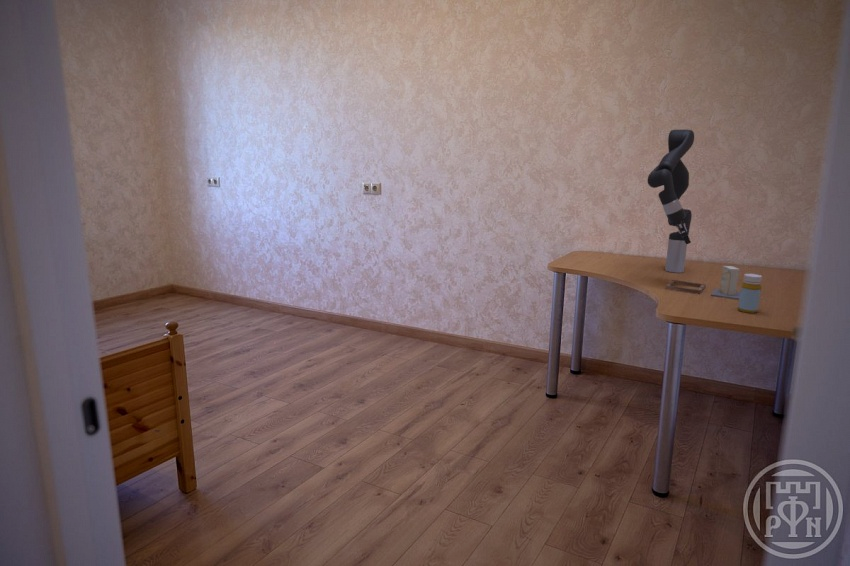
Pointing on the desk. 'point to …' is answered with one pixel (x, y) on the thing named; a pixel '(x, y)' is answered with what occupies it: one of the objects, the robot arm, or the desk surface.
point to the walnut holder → (699, 290)
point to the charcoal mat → (719, 294)
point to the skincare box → (729, 280)
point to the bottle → (750, 293)
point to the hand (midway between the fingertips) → (687, 241)
